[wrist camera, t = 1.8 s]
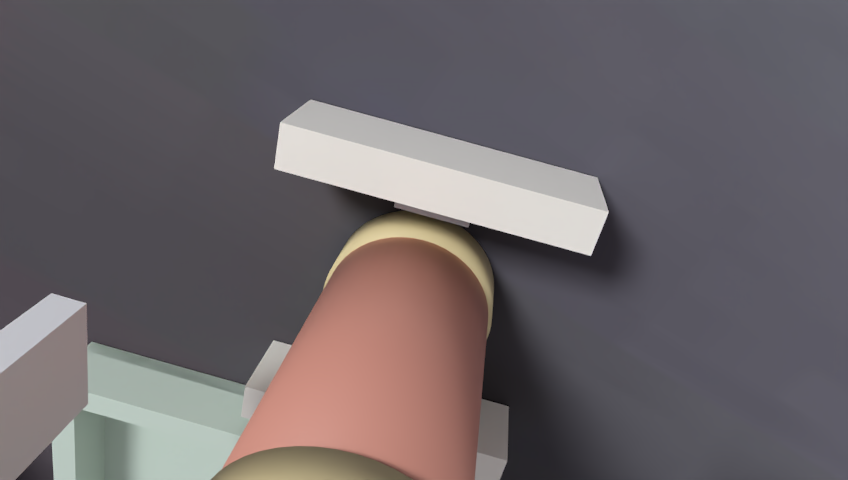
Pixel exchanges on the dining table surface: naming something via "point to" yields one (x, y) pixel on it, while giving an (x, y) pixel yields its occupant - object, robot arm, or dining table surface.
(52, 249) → the dining table surface
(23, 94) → the dining table surface
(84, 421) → the parts tray
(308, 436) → the fuse
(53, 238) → the dining table surface
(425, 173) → the fuse holder
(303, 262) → the dining table surface
